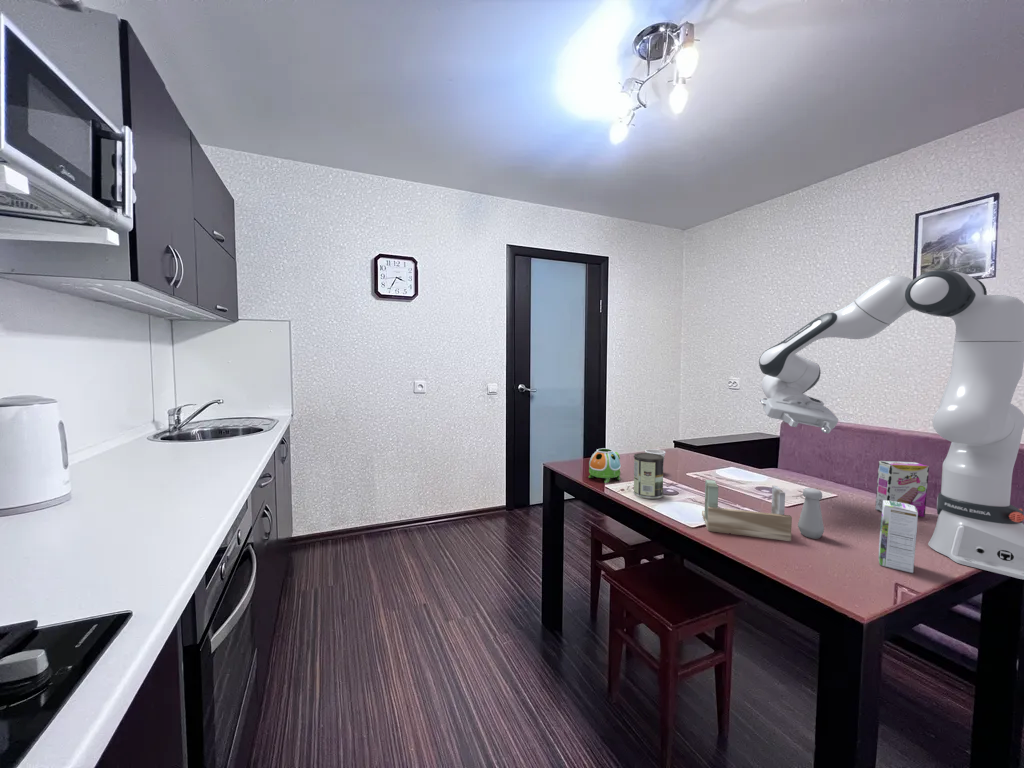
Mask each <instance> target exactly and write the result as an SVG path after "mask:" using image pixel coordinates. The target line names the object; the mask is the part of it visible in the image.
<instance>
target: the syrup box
mask: <svg viewBox="0 0 1024 768" xmlns="http://www.w3.org/2000/svg"><path fill="white" fill-rule="evenodd" d="M880 517H881V520H880V528H879V529H880V530H879V540H878V543H879V544H878V562H879V566H882V567H886V568H890V569H894V570H898V571H903V572H906V573H910V574H914V568H915V556H916V545H917V543H916V542H917V534H918V533H917V531H918V518H919V516H918V512H917V509H916V507H915V506H913V505H909V504H905V503H901V502H895V501H887V500H883V505H882V513H881V516H880Z"/></svg>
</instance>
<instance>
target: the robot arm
mask: <svg viewBox="0 0 1024 768" xmlns="http://www.w3.org/2000/svg"><path fill="white" fill-rule="evenodd" d="M911 311H917V312H919V313H923V314H927V315H929V316H934V317H942V318H950V319H951V320H952V321H953V322H954V325H955V335H954V343H953V344H954V345H953V351H952V360H951V367H950V372H949V377H948V381H947V383H946V386H945V387H944V391H943V393H942V396H941V399H940V403H939V406H938V409H937V410H936V412H935V413H934V414H933V417H932V427H933V429H934V430H935V432H936V434H938V435H939V437H941V438H942V439H945V440H947V441H949V442H951V443H950V446H949V449H948V452H947V455H946V457H945V458H944V460H943V462H942V469H941V470H942V472H941V483H940V484H941V486H940V491H939V492H938V495H937V499H936V511H937V513H936V515H937V520H936V523H935V524H936V525H935V527H934V531H933V534H932V535H931V538H930V540H929V541H928V543H927V544H928V546H929V547H930V548H931V549H932V550H934V551H936V552H938V553H939V554H942V555H944V556H945V557H948V558H949V559H951V561H953V562H955V563H957V564H960V565H963V566H968V567H971V568H975V569H980V570H983V571H988V572H991V573H994V574H999V575H1004V576H1008V577H1012V578H1015V579H1020V580H1024V523H1023V522H1024V511H1023V508H1021V507H1020V508H1018V507H1016V506H1015V505H1013V504H1011V495H1012V494H1011V493H1012V483H1013V471H1014V469H1015V467H1014V466H1015V463H1016V460H1017V458H1018V453H1019V449H1020V446H1021V441H1022V436H1023V431H1024V412H1023V411H1022V410H1021V409H1020V408H1018V407H1017V406H1016V405H1014V404H1012V399H1013V397H1014V394H1015V392H1016V388H1017V386H1018V384H1019V382H1020V380H1021V379H1022V376H1023V371H1024V302H1023V301H1022V300H1021V299H1020V298H1018V297H1014V296H1010V295H1005V294H989V295H988V292H987V287H986V285H984V283H983V282H982V281H981V280H979V279H977V278H975V277H973V276H970V275H969V274H966V273H964V272H960V271H959V272H958V271H952V270H949V269H948V270H947V269H937V270H936V269H935V270H932V271H927V272H925V273H923V274H920V275H918V276H916V277H914V278H913V279H912V278H910V277H907V276H903V275H891V276H887V277H885V278H884V279H882V280H880V281H879V282H878V283H875V284H874V285H872V286H871V287H870V288H868V289H867V290H865V291H864V292H863V293H861V294H860V295H859V296H858V297H856V299H854V300H853V301H852V302H851V303H849V304H848V305H846V306H844V307H842V308H841V309H838V310H836V311H834V312H833V311H832V312H826V313H823V314H822V315H819V316H818V317H816V318H814V319H813V320H811V321H810V322H808V323H807V324H806V325H804V326H802V327H801V328H800V329H798V330H797V331H795V332H794V333H792V334H791V335H790V336H788V337H786V338H785V339H784V340H782V341H781V342H779V343H777V344H775V345H773V346H771V347H769V348H768V349H767V348H766V350H765V351H763V352H762V354H761V355H760V356H759V360H758V364H759V369H760V371H761V373H762V374H764V375H765V376H764V377H763V378H762V380H761V389H762V392H763V393H764V395H765V397H766V398H765V397H764V398H761V399H760V400H759V401H760V404H761V405H762V406H763V408H762V409H763V411H764V413H765V415H766V417H769V418H771V419H776V420H779V421H783V422H784V423H786V424H788V425H789V427H792V428H793V427H794V428H797V427H798V426H799V424H800V425H807V426H812V427H817V428H821V429H820V431H821V432H822V433H824V434H830V433H831V431H832V430H834V429H835V427H836V426H837V425H838V423H839V417H837V416H836V414H834V412H833V411H832V410H831V409H830V408H828V407H826V406H825V402H824V401H822V400H820V399H817V398H815V397H811V396H809V395H807V394H805V393H806V392H808V391H809V390H811V389H812V388H813V387H815V386H816V385H817V383H818V382H819V380H820V377H821V372H822V371H821V367H820V365H819V364H818V363H817V362H814V361H813V360H810V359H809V358H806V357H803V356H801V355H799V354H797V353H799V352H800V351H802V350H804V349H805V348H806V347H808V346H809V345H811V344H813V343H814V342H816V341H818V340H821V339H826V338H841V339H849V340H864V339H870V338H872V337H873V336H876V335H879V333H881V332H882V331H884V330H885V329H887V328H888V327H890V326H891V325H892V324H893V323H894V322H895V321H897V320H898V319H899V318H901V317H902V316H903V315H905V314H907V313H909V312H911Z"/></svg>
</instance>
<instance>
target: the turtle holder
mask: <svg viewBox="0 0 1024 768" xmlns="http://www.w3.org/2000/svg"><path fill="white" fill-rule="evenodd" d="M620 459H621V456H620V453H618V451H614V449H611V448H607V447H606V448H605V447H602V448H598V449H597V448H596V451H594V453H592V455H591V457H590V459H589V462H588V468H589V469H588V473H589V475H588V478H589V479H594V477H595V478H601V479H604V480H603V481H604V483H605V484H608V483H610V479H613V478H616V480H618V481H620V480H621V476H620V475H621V467H622V465H621V460H620Z"/></svg>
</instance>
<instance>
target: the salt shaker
mask: <svg viewBox="0 0 1024 768" xmlns="http://www.w3.org/2000/svg"><path fill="white" fill-rule="evenodd" d="M802 496H803V497H804V501H803V505H802V509H801V512H800V516H799V519H798V522H797V527H798V530H799V532H800V534H801V535H802V536H804V537H805V538H810V539H813V540H814V539H821V537H822V536H823V534H824V532H825V528H824V527H825V526H824V522H823V521H824V520H823V515H822V509H821V502H820V500H822V499H823V492H822V491H821V490H820V489H816V488H814V487H813V488H812V487H811V488H810V487H807V488H806V487H805V488H803V491H802Z"/></svg>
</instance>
